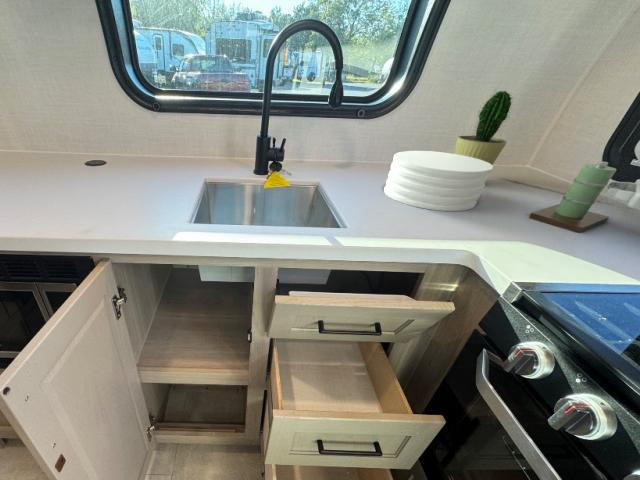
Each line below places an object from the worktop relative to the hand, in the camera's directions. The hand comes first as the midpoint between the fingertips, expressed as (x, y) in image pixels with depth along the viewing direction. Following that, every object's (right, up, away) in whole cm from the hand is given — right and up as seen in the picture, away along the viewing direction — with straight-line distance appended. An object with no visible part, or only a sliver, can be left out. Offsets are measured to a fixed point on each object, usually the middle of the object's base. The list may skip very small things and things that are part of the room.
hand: (607, 187), depth 84 cm
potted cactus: (-11, +17, +39) cm, 44 cm away
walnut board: (-3, -6, +8) cm, 11 cm away
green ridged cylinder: (-3, -5, +7) cm, 9 cm away
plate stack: (-35, +5, +23) cm, 42 cm away
